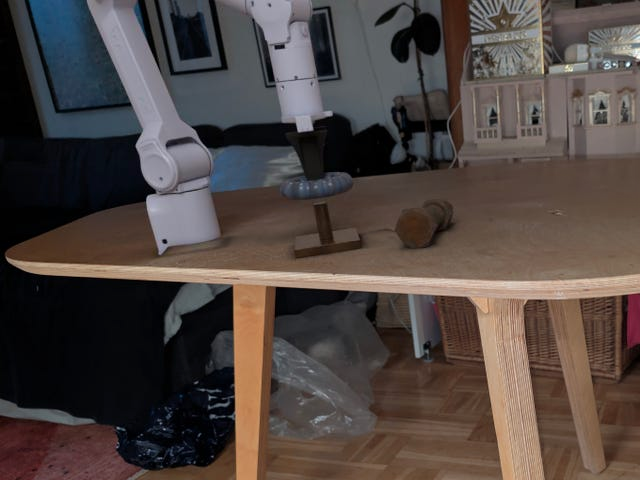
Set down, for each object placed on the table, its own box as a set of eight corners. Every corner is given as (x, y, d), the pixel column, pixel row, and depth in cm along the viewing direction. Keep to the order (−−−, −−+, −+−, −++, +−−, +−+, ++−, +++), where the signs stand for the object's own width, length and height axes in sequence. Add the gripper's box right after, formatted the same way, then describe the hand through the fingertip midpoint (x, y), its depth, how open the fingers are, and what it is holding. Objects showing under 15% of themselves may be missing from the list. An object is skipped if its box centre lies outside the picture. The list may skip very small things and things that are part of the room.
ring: (280, 204, 93) (276, 186, 92) (283, 194, 102) (280, 177, 101) (355, 194, 95) (352, 176, 94) (352, 185, 104) (349, 168, 103)
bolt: (451, 233, 108) (423, 256, 94) (422, 219, 108) (390, 239, 95) (466, 199, 106) (439, 217, 92) (436, 184, 106) (405, 200, 92)
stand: (296, 258, 96) (286, 213, 94) (297, 244, 105) (288, 202, 102) (361, 247, 98) (353, 203, 95) (357, 235, 106) (350, 194, 104)
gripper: (327, 76, 90) (346, 183, 95) (324, 77, 103) (341, 171, 108) (271, 82, 89) (293, 190, 94) (276, 83, 102) (295, 178, 107)
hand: (316, 181), depth 101 cm, fingers closed on ring, 2 cm apart
